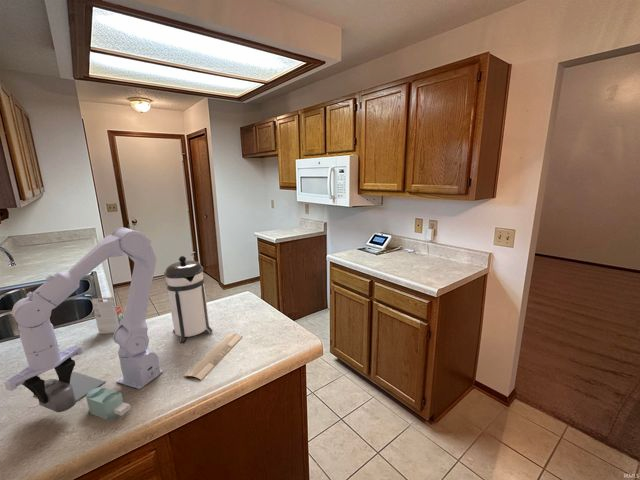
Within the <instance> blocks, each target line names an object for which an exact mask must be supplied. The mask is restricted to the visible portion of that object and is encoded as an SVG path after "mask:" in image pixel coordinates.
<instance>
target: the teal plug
mask: <svg viewBox="0 0 640 480" xmlns="http://www.w3.org/2000/svg"><path fill="white" fill-rule="evenodd" d="M85 399H86V403H87V407H88V410H89V413H90V414H92V415H94V416H98V417H100V418H102V419H105V420H108V421H113V420H115V419H118V418H119V417H122V416H123V415H125V414H126V413H127V412H128V411H130V410H131V404H130V403H127V402H124V399H123V395H122V393H121V392H119V391H116V390H113V389H111V388H106V387H104V386H99V387H98V388H95V389H93V390H91V391H89V392H88V393H87V395H86V396H85Z"/></svg>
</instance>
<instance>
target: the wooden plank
mask: <svg viewBox="0 0 640 480" xmlns="http://www.w3.org/2000/svg"><path fill="white" fill-rule="evenodd" d="M242 338H243V335H241V334H239V333H233V332H232V333H227V334H226V335H225V336H224V337H223V338H222V339H221V340H219V342H217V344H215V345H214V347H212V348H211V349H210V350H209V351H208V352H207V353H206V354H205V355H204V356H203V357H202V358H201V359H200V360H199V361H198V362H196V364H194V366H193V367H191V369H189V370H188V371H187V372H186V373H185V374H184V375H183V378H187V377H195V378H197V379H199V380H200V381H202V380H204V378H205V377H206V376H207V375H208V374H209V373H210V372H211V371H212V370H213V369H214V368H215V366H217V365H218V363H220V361H221V360H222V359H223V358H224V357H225V356H226V355H227V354H228V353H229V352H230V351H231V350H232V348H234V346H235V345H236V344H237V343H238V342H239V341H240V340H241V339H242Z"/></svg>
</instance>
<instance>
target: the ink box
mask: <svg viewBox="0 0 640 480" xmlns="http://www.w3.org/2000/svg"><path fill="white" fill-rule="evenodd" d="M102 300H103V301H102ZM91 302H92V306H93V313H94V318H95V321H96V326H97V330H98V334H99V335H105V334H107V335H108V334H114V332H115V331H116V329H117V328H118V327H119V324H120V320H121V319H122V318H123V317H124V315H123V311H122V306H121V305H115V299H114V297H113V296H112V297H97V298H91Z"/></svg>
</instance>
